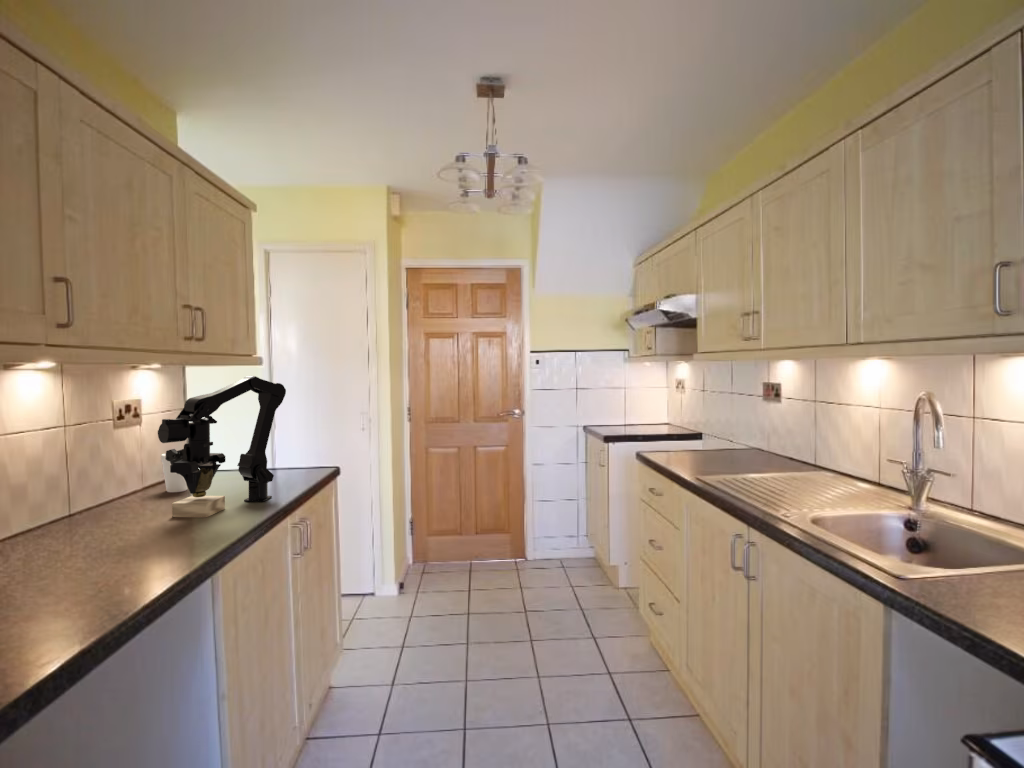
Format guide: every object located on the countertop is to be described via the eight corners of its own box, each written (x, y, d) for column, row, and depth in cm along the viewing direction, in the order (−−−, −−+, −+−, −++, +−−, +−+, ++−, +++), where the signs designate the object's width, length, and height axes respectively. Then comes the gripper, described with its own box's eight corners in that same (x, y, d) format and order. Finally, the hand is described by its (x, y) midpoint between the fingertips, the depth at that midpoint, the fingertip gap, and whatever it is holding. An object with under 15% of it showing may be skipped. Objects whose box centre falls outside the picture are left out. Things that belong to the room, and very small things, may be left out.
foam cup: (198, 488, 196) (198, 452, 196) (176, 494, 187) (176, 456, 187) (177, 486, 199) (177, 451, 198) (155, 492, 190) (154, 455, 190)
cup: (191, 500, 158) (191, 473, 158) (180, 496, 163) (180, 470, 162) (217, 496, 164) (217, 469, 164) (206, 492, 169) (206, 466, 168)
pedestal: (193, 508, 169) (192, 495, 168) (224, 508, 168) (224, 495, 168) (172, 516, 159) (172, 503, 158) (205, 517, 158) (205, 503, 158)
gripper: (191, 435, 172) (192, 484, 173) (151, 443, 154) (151, 498, 154) (226, 435, 172) (226, 484, 173) (190, 443, 154) (190, 498, 154)
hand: (199, 491), depth 163 cm, fingers closed on cup, 6 cm apart
